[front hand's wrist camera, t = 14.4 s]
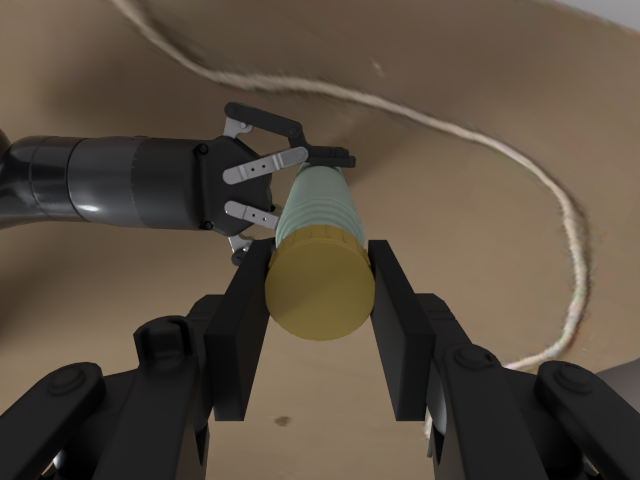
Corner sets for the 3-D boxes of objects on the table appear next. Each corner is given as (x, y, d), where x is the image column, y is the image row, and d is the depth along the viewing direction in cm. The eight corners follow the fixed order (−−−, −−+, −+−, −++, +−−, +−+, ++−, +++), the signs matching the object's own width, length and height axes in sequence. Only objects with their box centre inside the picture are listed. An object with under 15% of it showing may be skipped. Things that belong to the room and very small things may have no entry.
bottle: (300, 203, 36) (270, 344, 14) (293, 158, 34) (248, 238, 12) (345, 197, 36) (384, 332, 14) (340, 152, 34) (376, 222, 12)
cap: (381, 297, 15) (390, 324, 13) (291, 324, 16) (287, 354, 14) (352, 208, 14) (357, 224, 12) (254, 241, 14) (244, 262, 12)
